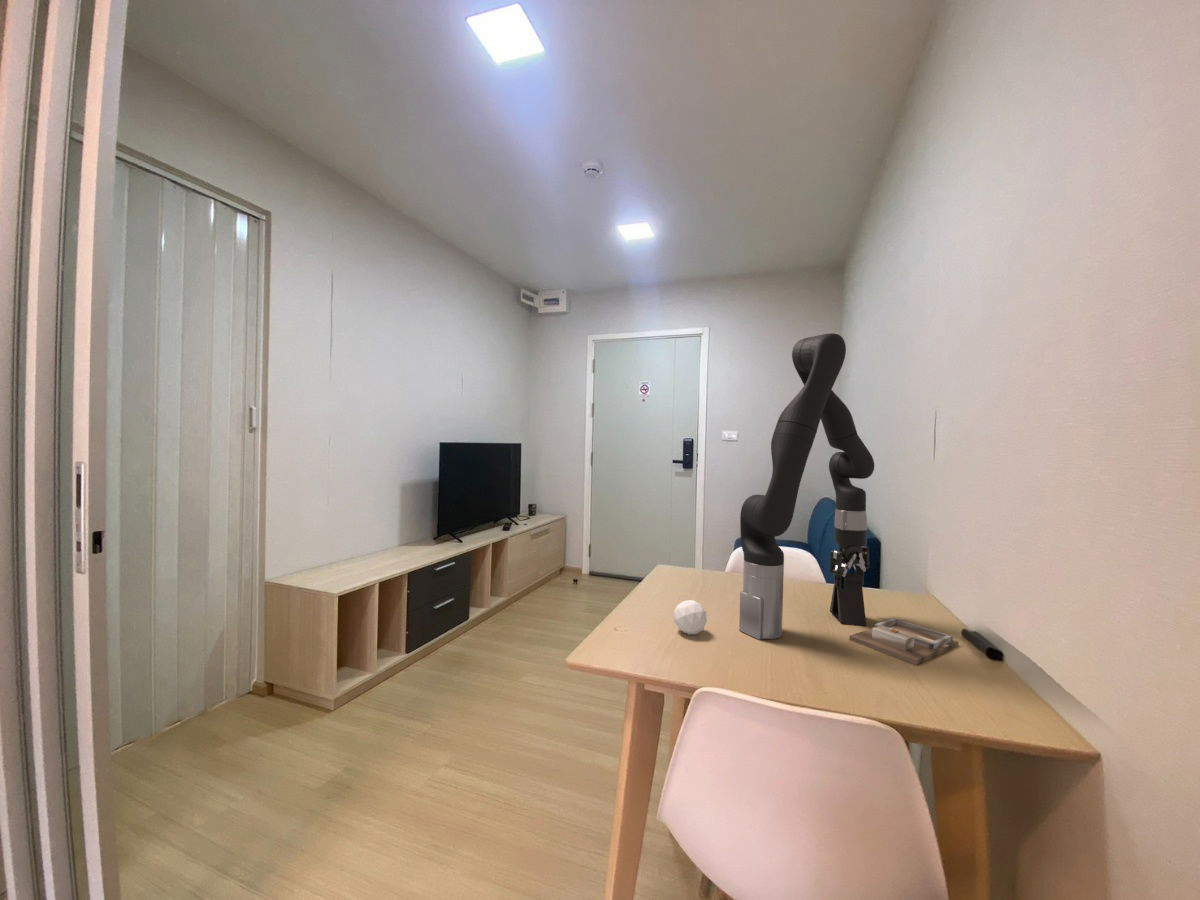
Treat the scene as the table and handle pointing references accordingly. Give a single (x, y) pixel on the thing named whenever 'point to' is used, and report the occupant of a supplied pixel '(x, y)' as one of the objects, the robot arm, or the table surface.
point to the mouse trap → (905, 640)
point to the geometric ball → (690, 617)
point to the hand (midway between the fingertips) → (849, 587)
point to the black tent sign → (849, 601)
